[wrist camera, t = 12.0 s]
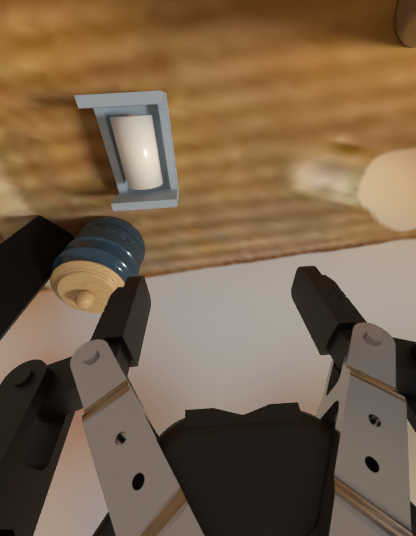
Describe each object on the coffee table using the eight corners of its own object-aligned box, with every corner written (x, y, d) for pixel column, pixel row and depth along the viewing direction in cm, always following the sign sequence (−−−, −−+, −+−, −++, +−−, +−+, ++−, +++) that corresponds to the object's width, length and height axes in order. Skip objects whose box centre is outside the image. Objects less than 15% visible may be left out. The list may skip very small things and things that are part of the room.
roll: (103, 115, 29) (118, 115, 25) (140, 113, 32) (159, 113, 28) (122, 185, 35) (137, 193, 31) (153, 178, 37) (169, 185, 34)
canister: (158, 247, 46) (145, 308, 32) (119, 276, 50) (93, 342, 36) (108, 201, 39) (64, 254, 25) (68, 239, 43) (11, 303, 29)
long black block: (24, 240, 43) (-151, 385, 21) (39, 214, 40) (-148, 350, 18) (64, 261, 46) (-49, 402, 24) (80, 238, 43) (-31, 376, 21)
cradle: (166, 93, 30) (161, 90, 24) (179, 191, 39) (177, 206, 33) (96, 97, 30) (73, 95, 24) (124, 195, 39) (113, 211, 33)
